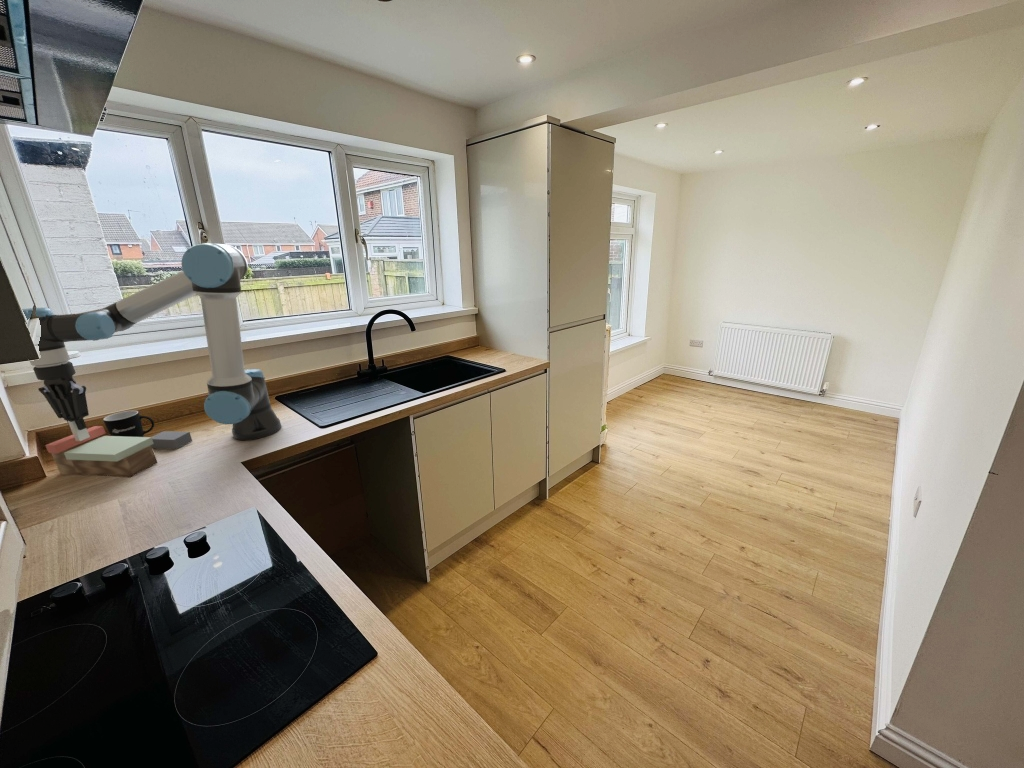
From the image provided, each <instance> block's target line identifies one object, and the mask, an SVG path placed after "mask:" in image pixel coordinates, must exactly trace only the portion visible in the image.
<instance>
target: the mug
mask: <svg viewBox="0 0 1024 768" xmlns="http://www.w3.org/2000/svg"><path fill="white" fill-rule="evenodd" d="M142 419H147V420H149V422H151V426H150V428H149V429H147V430H144V426H143V423H142ZM102 420H103V423H104V425H105V427H106V429H107V431H108V433H109V436H124V437H145V435H146V434H148V433H150V432H151V431H152V430H153V429H154V427H155V421H154V420H153V419H152V418H151V417H150V416H146V415H140V412H139V411H138V410H125V411H120V412H117V413H116V412H115V413H113V414H109V415H107V416H105V417H104V418H103V419H102Z"/></svg>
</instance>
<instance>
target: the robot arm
mask: <svg viewBox="0 0 1024 768" xmlns="http://www.w3.org/2000/svg"><path fill="white" fill-rule="evenodd" d="M248 263H249V262H248V260H247V258H246V256H245V255H244V254H243V252H242V251H241V250H239V249H238V248H237V247H235V246H233V245H230V244H226V243H211V242H202V243H199V244H195V245H192V246H191V247H189V248H187V250H185V252H184V253H183V255H182V257H181V269H182V270H181V271H180V272H178V273H175V274H174V275H171V276H169V277H167V278H164V279H163V280H160V281H158V282H156V283H154V284H152V285H150V286H147V287H146V288H143V289H141V290H139V291H137V292H135V293H132V294H131V295H129V296H126V297H124V298H122V299H120V300H117V301H116V302H114V303H111V304H109V305H108V306H105V307H103V308H100V309H94V310H90V311H89V310H88V311H84V312H80V313H68V314H66V313H65V314H55V313H54V312H53V311H52V309H51V308H49V307H35V308H36V312H35V314H36V316H39V320H40V325H41V337H40V341H39V344H38V346H39V351H40V355H41V358H40V359H39V360H34V361H29V363H30V366H32V367H33V366H34V367H33V368H32V370H33V373H34V375H35V376H36V379H37V380H39V381H43V386H40V387H39V388H37V389H38V392H40V393H41V394H42V395H43V397H44V398H45V399H46V401H47V403H48V404H49V405H50V407H51V409H52V410H53V412H54V414H55V415H56V416H57V418H58V419H63V420H64V421H66V423H67V424H68V427H69V429H70V431H71V433H72V435H74V438H75V440H76V441H82V440H84V439H87V438H89V437H90V436H89V433H88V431H87V429H88V428H87V425H86V422H85V420H84V418H85V417H88V416H89V415H90V414H89V413H90V412H89V409H88V402H87V401H88V400H87V396H86V392H87V387H86V386H85V385H82V386H80V385H78V384H77V382H76V380H75V379H74V378H73V376H74V375H75V374H76V370H75V367H74V364H73V362H71V361H70V360H71V358H70V355H69V353H68V350H67V347H66V344H65V343H68V342H83V341H84V342H85V341H99V340H107V339H109V338H112V337H113V335H114V334H115V333H118V332H123V331H125V330H129V329H131V327H133V326H134V325H136V324H137V323H140V322H142V321H144V320H146V319H148V318H151V317H152V316H154V315H157V314H158V313H161V312H163V311H165V310H167V309H169V308H171V307H174V306H175V305H178V304H180V303H182V302H184V301H186V300H189V299H190V298H192V297H194V296H196V295H197V296H198V297H199V298H200V301H201V302H200V303H201V310H202V311H201V312H202V315H203V322H204V330H205V335H206V343H207V350H208V356H209V363H210V364H209V365H210V369H211V370H210V371H211V377H210V378H209V379H208V380H206V386H207V393H208V396H207V397H206V398H205V400H204V403H203V409H204V412H205V414H206V415H207V416H208V418H210V419H211V420H213V421H215V422H216V423H219V424H222V425H232V428H231V433H232V437H233V439H235V440H238V441H249V440H250V441H251V440H257V439H261V438H264V437H267V436H270V435H272V434H274V433H277V432H278V431H279V430H281V427H282V423H281V420H280V418H279V417H278V416H277V415H276V414H277V413H275V411H274V409H273V408H272V405H271V401H270V396H269V393H268V388H267V383H266V377H265V376H264V372H263V371H262V369H258V368H257V369H256V368H253V369H252V368H250V369H245V368H246V367H245V360H244V352H243V344H242V337H241V336H242V335H241V329H240V328H241V327H240V321H239V311H238V303H237V298H238V297H239V295H241V293H242V287H241V280H243V278H245V277H246V275H247V274H248V269H249V264H248ZM33 308H34V307H29V308H22V310H23V312H24V314H25V316H26V318H27V320H28V319H29V318H30V317H31V314H32V311H33Z"/></svg>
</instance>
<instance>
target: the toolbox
mask: <svg viewBox="0 0 1024 768" xmlns="http://www.w3.org/2000/svg"><path fill="white" fill-rule="evenodd" d="M98 438H99V437H96V438H93V439H91V440H89V441H86V442H84V443H81V444H79V445H77V446H74V447H72V448H69V449H67V450H64V451H62V452H60V453H50V454H51V456H52V458H53V461H54V463H55V465H56V466H57V467H56V468H57V469H58V471H59V474H60V475H70V476H71V475H74V476H94V477H115V478H118V477H119V478H132V477H135V476H136V475H137V474H140V473H141V472H143V471H145V470H147V469H149V468H150V467H152V466H154V465H156V464H158V460H157V458H156V454H155V452H154V448H152V446H148V447H146V448H144V449H142V450H140V451H138V452H136V453H134V454H132V455H130V456H127V457H125V458H123V459H121V460H119V461H92V460H67V459H66V457H65V454H64V453H65V452H67V451H69V450H72V449H74V448H77V447H79V446H81V445H84V444H86V443H88V442H91V441H93V440H96V439H98Z"/></svg>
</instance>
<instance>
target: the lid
mask: <svg viewBox="0 0 1024 768" xmlns="http://www.w3.org/2000/svg"><path fill="white" fill-rule="evenodd" d="M152 437H153V436H150V437H148V436H143V437H124V436H111V435H102V436H101V437H100V436H99V437H97V438H98V439H96V440H93V441H91V442H88V443H86V444H84V445H81V446H79V447H77V448H74V449H72V450H69V451H67V452H65V453H64V454H65V457H66V459H67V460H92V461H119V460H121V459H123V458H125V457H127V456H130V455H132V454H134V453H136V452H138V451H140V450H142V449H144V448H146V447H148V446H150V445H152V444H154V443H153V440H152Z"/></svg>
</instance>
